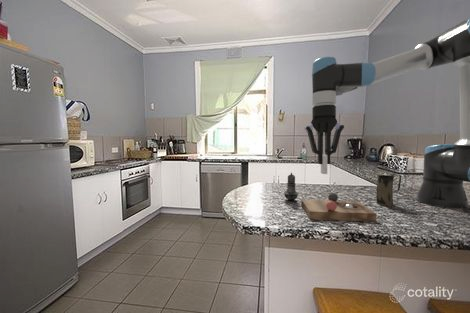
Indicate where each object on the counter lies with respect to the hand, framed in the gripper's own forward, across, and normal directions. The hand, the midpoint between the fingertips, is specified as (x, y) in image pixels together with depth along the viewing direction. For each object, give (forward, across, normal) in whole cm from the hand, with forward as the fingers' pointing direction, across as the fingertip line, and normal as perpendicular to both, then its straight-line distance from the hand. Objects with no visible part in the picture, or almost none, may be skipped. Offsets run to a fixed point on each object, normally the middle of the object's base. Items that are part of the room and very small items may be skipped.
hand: (323, 173), depth 79 cm
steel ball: (+12, -8, +3) cm, 14 cm away
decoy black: (+9, -4, -3) cm, 11 cm away
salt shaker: (+13, +10, -11) cm, 20 cm away
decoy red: (+9, 0, +8) cm, 12 cm away
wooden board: (+13, -3, +2) cm, 14 cm away
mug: (+14, -27, -10) cm, 32 cm away
